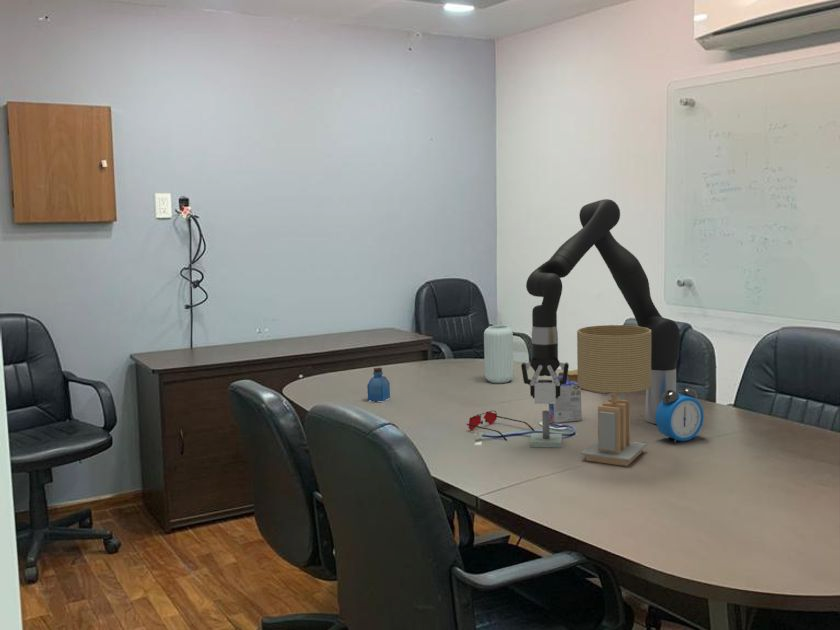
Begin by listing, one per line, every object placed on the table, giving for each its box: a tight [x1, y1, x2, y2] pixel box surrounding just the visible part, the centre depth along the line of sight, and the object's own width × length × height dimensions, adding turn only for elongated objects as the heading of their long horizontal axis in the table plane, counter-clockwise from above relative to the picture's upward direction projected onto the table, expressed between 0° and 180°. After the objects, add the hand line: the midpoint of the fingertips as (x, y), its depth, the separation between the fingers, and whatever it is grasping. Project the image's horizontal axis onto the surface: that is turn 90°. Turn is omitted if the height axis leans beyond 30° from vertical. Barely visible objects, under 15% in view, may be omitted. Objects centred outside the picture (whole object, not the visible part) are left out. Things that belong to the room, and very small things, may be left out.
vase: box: [483, 324, 514, 384], centre depth 320 cm, size 12×12×22 cm
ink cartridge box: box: [548, 375, 583, 424], centre depth 259 cm, size 10×6×14 cm, turn 102°
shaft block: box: [529, 410, 563, 449], centre depth 235 cm, size 9×9×10 cm
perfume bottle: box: [367, 367, 391, 402], centre depth 296 cm, size 6×6×12 cm
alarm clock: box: [655, 387, 705, 443], centre depth 233 cm, size 13×6×15 cm, turn 113°
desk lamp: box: [576, 324, 652, 467], centre depth 218 cm, size 20×20×35 cm
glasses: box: [465, 410, 536, 442], centre depth 250 cm, size 14×16×5 cm
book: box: [557, 369, 612, 396], centre depth 306 cm, size 25×17×6 cm
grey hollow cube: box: [534, 378, 556, 405], centre depth 234 cm, size 6×6×6 cm
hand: (545, 397), depth 234 cm, fingers closed on grey hollow cube, 6 cm apart
